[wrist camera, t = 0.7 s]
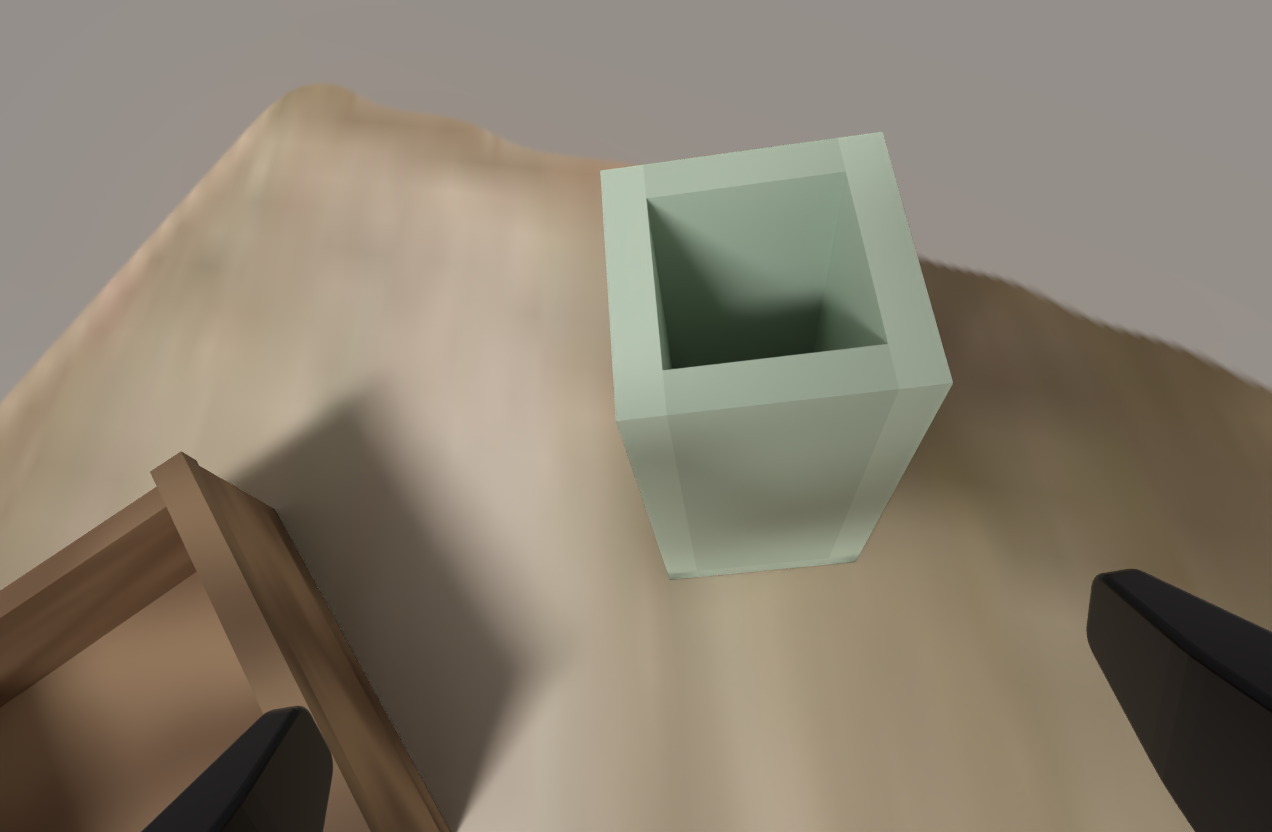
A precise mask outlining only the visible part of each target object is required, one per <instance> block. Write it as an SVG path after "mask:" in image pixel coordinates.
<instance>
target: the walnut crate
mask: <svg viewBox="0 0 1272 832" xmlns="http://www.w3.org/2000/svg"><path fill="white" fill-rule="evenodd" d="M150 473H151V475H152V477H153V479H154V481H155V483H156V486H157V487H156V488H154V489H153V490H151V491H150V492H148V493H147V494H145V495H144V496H142V497H141V498H139V499H137V500H136V501H134V502H133V503H131V504H130V505H128V506H127V507H125V508H124V509H122V510H121V511H119V512H118V513H116V514H115V515H113V516H112V517H110V518H109V519H107V520H106V521H104V522H103V523H101V524H100V525H98V526H97V527H95V528H94V529H92V530H91V531H89V532H88V533H86V534H85V535H83V536H82V537H80V538H79V539H77V540H76V541H74V542H73V543H71V544H70V545H68V546H67V547H65V548H64V549H62V550H61V551H59V552H58V553H56V554H55V555H53V556H52V557H50V558H49V559H47V560H46V561H44V562H43V563H41V564H40V565H38V566H37V567H35V568H34V569H32V570H31V571H29V572H28V573H26V574H25V575H23V576H22V577H20V578H19V579H17V580H16V581H14V582H13V583H11V584H10V585H8V586H7V587H5V588H4V589H2V590H1V591H0V832H141V831H142V830H143V829H144V828H145V827H146V826H147V825H148V824H150V823H151V822H152V821H153V820H154V819H155V818H156V817H157V816H158V815H159V814H160V813H161V812H162V811H163V810H164V809H165V808H166V807H167V806H168V805H169V804H170V803H171V802H172V801H173V800H174V799H176V798H177V797H178V796H179V795H180V794H181V793H182V792H183V791H184V790H185V789H186V788H187V787H188V786H189V785H190V784H191V783H192V782H193V781H194V780H195V779H196V778H197V777H198V776H199V775H200V774H202V773H203V772H204V771H205V770H206V769H207V768H208V767H209V766H210V765H211V764H212V763H213V762H214V761H215V760H216V759H217V758H218V757H219V756H220V755H221V754H222V753H223V752H224V751H225V750H226V749H228V748H229V747H230V746H231V745H232V744H233V743H234V742H235V741H236V740H237V739H238V738H239V737H240V736H241V735H242V734H243V733H244V732H245V731H246V730H247V729H248V728H249V727H250V726H251V725H252V724H254V723H255V722H256V721H257V720H258V719H259V718H260V717H261V716H262V715H263V714H264V713H266V712H268V711H270V710H273V709H279V708H285V707H291V706H303V707H305V708H306V709H308V710H309V712H310V713H311V715H312V717H313V719H314V721H315V722H316V724H317V726H318V728H319V730H320V732H321V733H322V735H323V737H324V739H325V741H326V743H327V745H328V746H329V748H330V751H331V754H332V757H333V776H332V782H331V789H330V795H329V801H328V807H327V813H326V819H325V825H324V831H323V832H450V830H449V828H448V827H447V825H446V823H445V821H444V819H443V817H442V816H441V814H440V812H439V810H438V808H437V806H436V805H435V803H434V801H433V799H432V797H431V795H430V794H429V792H428V790H427V788H426V786H425V784H424V783H423V781H422V779H421V777H420V775H419V773H418V772H417V770H416V768H415V766H414V764H413V762H412V761H411V759H410V757H409V755H408V753H407V751H406V750H405V748H404V746H403V744H402V742H401V740H400V739H399V737H398V735H397V733H396V731H395V729H394V727H393V726H392V724H391V722H390V720H389V718H388V716H387V715H386V713H385V711H384V709H383V707H382V705H381V704H380V702H379V700H378V698H377V696H376V694H375V693H374V691H373V689H372V687H371V685H370V683H369V682H368V680H367V678H366V676H365V674H364V672H363V671H362V669H361V667H360V665H359V663H358V661H357V660H356V658H355V656H354V654H353V652H352V650H351V649H350V647H349V645H348V643H347V641H346V639H345V638H344V636H343V634H342V632H341V630H340V628H339V627H338V625H337V623H336V621H335V619H334V617H333V616H332V614H331V612H330V610H329V608H328V606H327V605H326V603H325V601H324V599H323V597H322V595H321V594H320V592H319V590H318V588H317V586H316V584H315V583H314V581H313V579H312V577H311V575H310V573H309V571H308V570H307V568H306V566H305V564H304V562H303V560H302V559H301V557H300V555H299V553H298V551H297V549H296V548H295V546H294V544H293V542H292V540H291V538H290V537H289V535H288V533H287V531H286V529H285V527H284V526H283V524H282V522H281V520H280V518H279V516H278V515H277V513H276V511H275V510H274V509H273V508H271V507H269V506H268V505H266V504H264V503H262V502H261V501H259V500H257V499H256V498H254V497H252V496H250V495H249V494H247V493H245V492H243V491H242V490H240V489H238V488H237V487H235V486H233V485H231V484H230V483H228V482H226V481H225V480H223V479H221V478H219V477H218V476H216V475H214V474H212V473H211V472H209V471H207V470H206V469H204V468H202V467H200V466H199V465H198V463H197V461H196V460H195V459H193V458H191V457H190V456H188V455H186V454H185V453H183V452H179V453H178V454H176V455H175V456H173V457H172V458H170V459H169V460H167V461H166V462H164V463H163V464H161V465H160V466H158V467H157V468H155V469H154V470H152V471H151V472H150Z"/></svg>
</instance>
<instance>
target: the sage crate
mask: <svg viewBox="0 0 1272 832" xmlns="http://www.w3.org/2000/svg"><path fill="white" fill-rule="evenodd" d="M600 173H601V189H602V205H603V221H604V237H605V253H606V269H607V285H608V301H609V317H610V333H611V349H612V365H613V381H614V397H615V414H616V423H617V426H618V428H619V431H620V434H621V437H622V440H623V443H624V446H625V449H626V452H627V455H628V458H629V461H630V464H631V467H632V470H633V473H634V476H635V479H636V482H637V484H638V487H639V490H640V493H641V496H642V499H643V502H644V505H645V508H646V511H647V514H648V517H649V520H650V523H651V526H652V529H653V532H654V535H655V537H656V540H657V543H658V546H659V549H660V552H661V555H662V558H663V561H664V564H665V567H666V570H667V573H668V576H669V579H670V580H672V579H683V578H693V577H704V576H714V575H724V574H735V573H745V572H756V571H766V570H776V569H787V568H797V567H808V566H818V565H829V564H839V563H849V562H856V560H857V558H858V556H859V554H860V553H861V551H862V549H863V547H864V545H865V543H866V542H867V540H868V538H869V536H870V534H871V532H872V531H873V529H874V527H875V525H876V523H877V521H878V520H879V518H880V516H881V514H882V512H883V510H884V509H885V507H886V505H887V503H888V501H889V499H890V498H891V496H892V494H893V492H894V490H895V488H896V487H897V485H898V483H899V481H900V479H901V477H902V476H903V474H904V472H905V470H906V468H907V466H908V465H909V463H910V461H911V459H912V457H913V456H914V454H915V452H916V450H917V448H918V446H919V445H920V443H921V441H922V439H923V437H924V435H925V434H926V432H927V430H928V428H929V426H930V424H931V423H932V421H933V419H934V417H935V415H936V413H937V412H938V410H939V408H940V406H941V404H942V402H943V401H944V399H945V397H946V395H947V393H948V391H949V390H950V388H951V386H952V384H953V381H952V377H951V374H950V370H949V367H948V363H947V359H946V356H945V352H944V349H943V345H942V342H941V338H940V335H939V331H938V327H937V324H936V320H935V317H934V313H933V310H932V306H931V303H930V299H929V295H928V292H927V288H926V285H925V281H924V278H923V274H922V271H921V267H920V263H919V260H918V256H917V253H916V249H915V246H914V242H913V239H912V235H911V231H910V228H909V224H908V221H907V217H906V214H905V210H904V206H903V203H902V199H901V196H900V192H899V189H898V185H897V182H896V178H895V174H894V171H893V167H892V164H891V160H890V157H889V153H888V150H887V146H886V142H885V139H884V135H883V132H876V133H869V134H862V135H854V136H847V137H840V138H833V139H826V140H819V141H812V142H804V143H797V144H790V145H782V146H776V147H768V148H761V149H754V150H746V151H740V152H732V153H725V154H719V155H711V156H704V157H696V158H689V159H682V160H675V161H667V162H660V163H653V164H646V165H638V166H631V167H624V168H617V169H609V170H602V171H600Z"/></svg>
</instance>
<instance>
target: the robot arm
mask: <svg viewBox="0 0 1272 832" xmlns="http://www.w3.org/2000/svg"><path fill="white" fill-rule="evenodd" d="M1087 638H1088V643H1089V645H1090V648H1091V650H1092V653H1093V655H1094V656H1095V658H1096V660H1097V662H1098V664H1099V666H1100V668H1101V670H1102V671H1103V673H1104V675H1105V677H1106V679H1107V681H1108V683H1109V684H1110V686H1111V688H1112V690H1113V692H1114V694H1115V696H1116V698H1117V699H1118V701H1119V703H1120V705H1121V707H1122V709H1123V711H1124V713H1125V714H1126V716H1127V718H1128V720H1129V722H1130V724H1131V726H1132V728H1133V729H1134V731H1135V733H1136V735H1137V737H1138V739H1139V741H1140V743H1141V744H1142V746H1143V748H1144V750H1145V752H1146V754H1147V756H1148V758H1149V759H1150V761H1151V763H1152V765H1153V766H1154V768H1155V770H1156V772H1157V773H1158V775H1159V777H1160V779H1161V780H1162V782H1163V784H1164V785H1165V787H1166V788H1167V790H1168V792H1169V793H1170V795H1171V796H1172V798H1173V799H1174V801H1175V803H1176V804H1177V806H1178V807H1179V809H1180V810H1181V812H1182V813H1183V815H1184V816H1185V817H1186V819H1187V820H1188V822H1189V823H1190V825H1191V826H1192V828H1193V829H1194V831H1195V832H1272V632H1271V631H1269V630H1266V629H1264V628H1262V627H1260V626H1258V625H1256V624H1254V623H1252V622H1249V621H1247V620H1245V619H1243V618H1241V617H1239V616H1237V615H1234V614H1232V613H1230V612H1228V611H1226V610H1224V609H1222V608H1220V607H1217V606H1215V605H1213V604H1211V603H1209V602H1207V601H1205V600H1203V599H1200V598H1198V597H1196V596H1194V595H1192V594H1190V593H1188V592H1186V591H1183V590H1181V589H1179V588H1177V587H1175V586H1173V585H1171V584H1169V583H1166V582H1164V581H1162V580H1160V579H1158V578H1156V577H1154V576H1152V575H1149V574H1147V573H1145V572H1143V571H1140V570H1137V569H1125V570H1119V571H1113V572H1107V573H1101V574H1099V575H1097V576H1096V577H1095V578H1094V580H1093V582H1092V586H1091V594H1090V603H1089V611H1088V619H1087ZM332 776H333V757H332V754H331V751H330V748H329V746H328V745H327V743H326V741H325V739H324V737H323V735H322V733H321V732H320V730H319V728H318V726H317V724H316V722H315V721H314V719H313V717H312V715H311V713H310V712H309V710H308V709H306V708H305V707H303V706H291V707H285V708H279V709H273V710H270V711H268V712H266V713H264V714H263V715H262V716H261V717H260V718H259V719H258V720H257V721H256V722H255V723H254V724H252V725H251V726H250V727H249V728H248V729H247V730H246V731H245V732H244V733H243V734H242V735H241V736H240V737H239V738H238V739H237V740H236V741H235V742H234V743H233V744H232V745H231V746H230V747H229V748H228V749H226V750H225V751H224V752H223V753H222V754H221V755H220V756H219V757H218V758H217V759H216V760H215V761H214V762H213V763H212V764H211V765H210V766H209V767H208V768H207V769H206V770H205V771H204V772H203V773H202V774H200V775H199V776H198V777H197V778H196V779H195V780H194V781H193V782H192V783H191V784H190V785H189V786H188V787H187V788H186V789H185V790H184V791H183V792H182V793H181V794H180V795H179V796H178V797H177V798H176V799H174V800H173V801H172V802H171V803H170V804H169V805H168V806H167V807H166V808H165V809H164V810H163V811H162V812H161V813H160V814H159V815H158V816H157V817H156V818H155V819H154V820H153V821H152V822H151V823H150V824H148V825H147V826H146V827H145V828H144V829H143V830H142V831H141V832H323V831H324V825H325V819H326V813H327V807H328V801H329V795H330V789H331V782H332Z"/></svg>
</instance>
